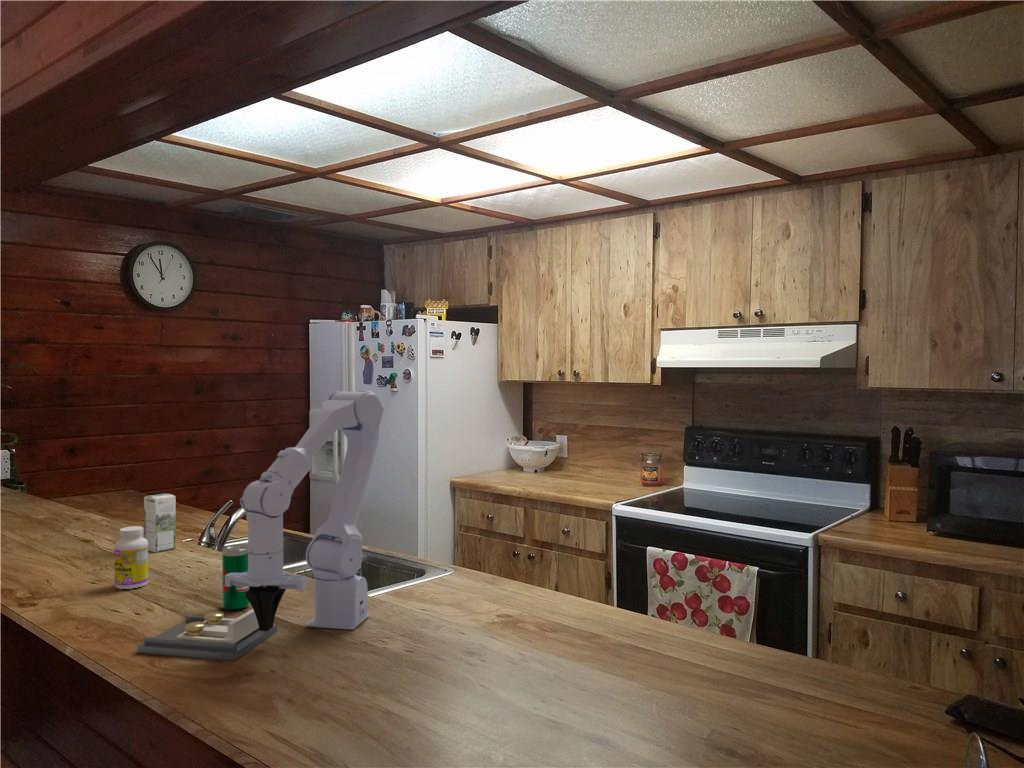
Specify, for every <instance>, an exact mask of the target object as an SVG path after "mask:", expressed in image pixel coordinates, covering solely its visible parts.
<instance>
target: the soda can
mask: <svg viewBox="0 0 1024 768" xmlns="http://www.w3.org/2000/svg"><path fill="white" fill-rule="evenodd" d="M221 558H222V561H221V562H222V567H221V568H222V570H221V571H222V572H221V573H222V608H224V610H226V609H227V610H226V611H228V610H238V609H242V610H244V608H245V609H246V607H248V606H250V602H249V601H248V599H247V598H246V595H245V593H246V592H247V591H249V586H233V585H232V586H230V587H228V586H225V575H227V574H229V573H231V572H232V573H243V572H248V547H247V546H246V545H235V546H234V545H231V546H228V547H225V548H224V551H223V553H222V555H221ZM238 611H239V610H238Z"/></svg>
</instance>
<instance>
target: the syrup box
mask: <svg viewBox="0 0 1024 768" xmlns="http://www.w3.org/2000/svg"><path fill="white" fill-rule="evenodd" d="M176 498H177V497H176V495H174V494H171V493H160V494H154V495H153V494H152V495H145V496H143V504H144V505H143V511H144V512H143V520H144V521H143V522H144V523H143V524H144V525H143V526H144V527H143V538H145V539H146V540H147V541H148V552H151V553H152V552H153V553H159V552H165V551H170V550H175V549H176V511H177V510H176V504H177V501H176Z"/></svg>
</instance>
